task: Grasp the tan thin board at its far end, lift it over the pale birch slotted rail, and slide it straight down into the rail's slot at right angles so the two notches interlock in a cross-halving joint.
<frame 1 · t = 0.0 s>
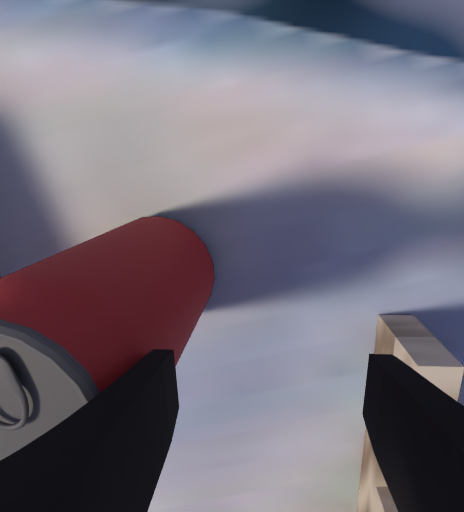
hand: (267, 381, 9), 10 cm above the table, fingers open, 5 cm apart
slotted rail: (380, 435, 22), on the table
beer can: (163, 267, 20), on the table, touching gripper
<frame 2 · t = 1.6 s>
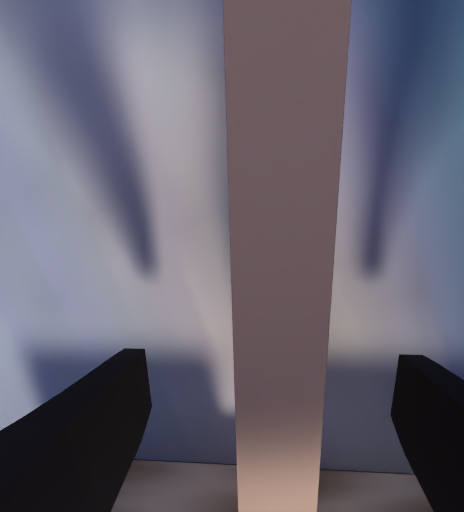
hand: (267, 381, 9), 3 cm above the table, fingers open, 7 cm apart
slotted rail: (266, 484, 14), on the table
tan thin board: (267, 240, 11), on the table
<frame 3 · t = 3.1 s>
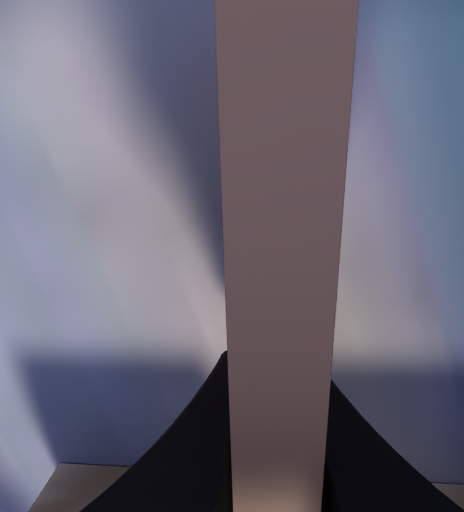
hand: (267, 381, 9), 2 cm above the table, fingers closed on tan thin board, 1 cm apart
slotted rail: (265, 491, 14), on the table
tan thin board: (266, 241, 11), on the table, touching gripper
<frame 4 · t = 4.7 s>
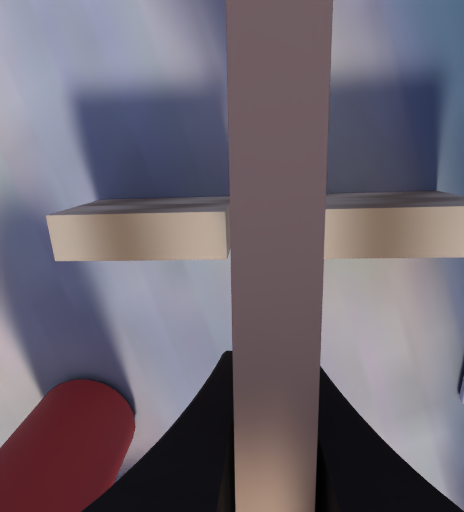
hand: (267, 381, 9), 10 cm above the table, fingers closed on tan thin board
slotted rail: (261, 213, 18), on the table
tan thin board: (265, 246, 11), point 7 cm above the table, tilted 7°, touching gripper
beer can: (94, 410, 23), on the table
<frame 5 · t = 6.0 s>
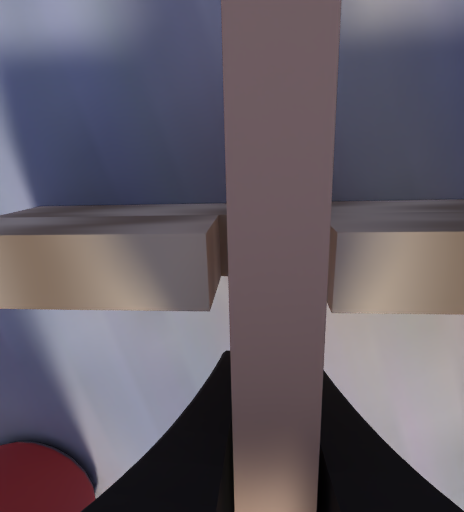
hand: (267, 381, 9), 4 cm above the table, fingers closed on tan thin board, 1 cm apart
slotted rail: (266, 228, 12), on the table
tan thin board: (265, 261, 11), point 2 cm above the table, touching gripper
beer can: (45, 478, 18), on the table
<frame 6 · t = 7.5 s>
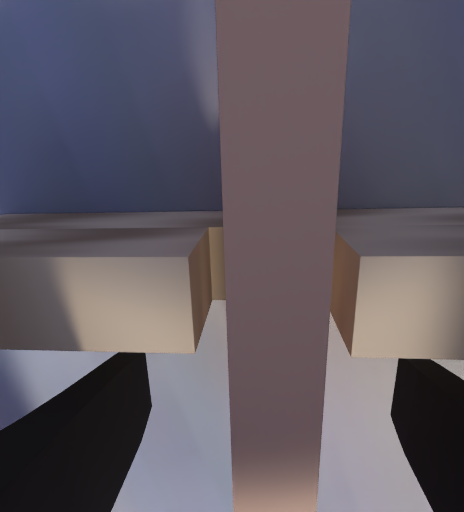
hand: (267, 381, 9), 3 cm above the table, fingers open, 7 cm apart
slotted rail: (266, 240, 11), on the table
tan thin board: (265, 259, 11), on the table, touching slotted rail
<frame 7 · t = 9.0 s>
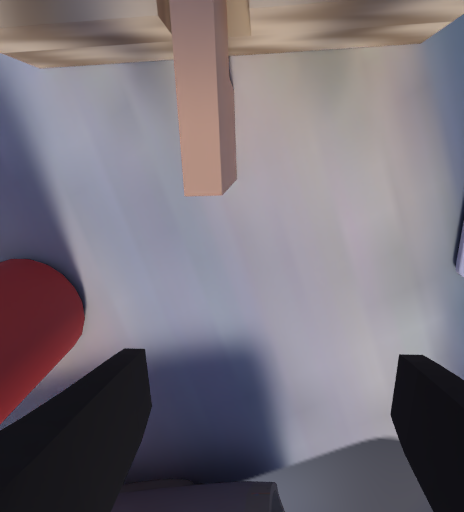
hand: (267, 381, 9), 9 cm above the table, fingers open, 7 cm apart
slotted rail: (219, 31, 15), on the table
tan thin board: (219, 48, 15), on the table, touching slotted rail
beer can: (40, 304, 20), on the table
bluetooth speaker: (134, 495, 25), on the table
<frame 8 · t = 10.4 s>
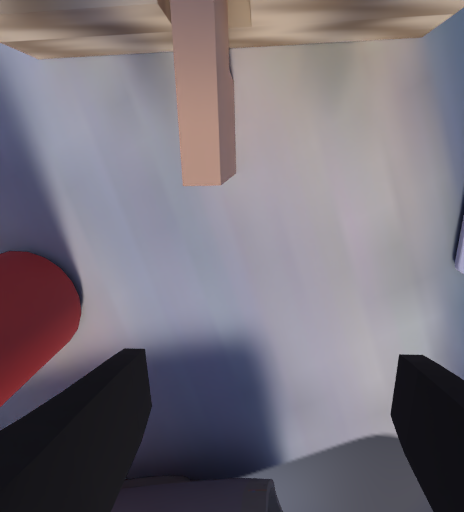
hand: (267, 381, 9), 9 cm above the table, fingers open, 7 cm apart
slotted rail: (219, 23, 15), on the table
tan thin board: (219, 40, 15), on the table, touching slotted rail
beer can: (37, 297, 20), on the table
bluetooth speaker: (130, 492, 25), on the table
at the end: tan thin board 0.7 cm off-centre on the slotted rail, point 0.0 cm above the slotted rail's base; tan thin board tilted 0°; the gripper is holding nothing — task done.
